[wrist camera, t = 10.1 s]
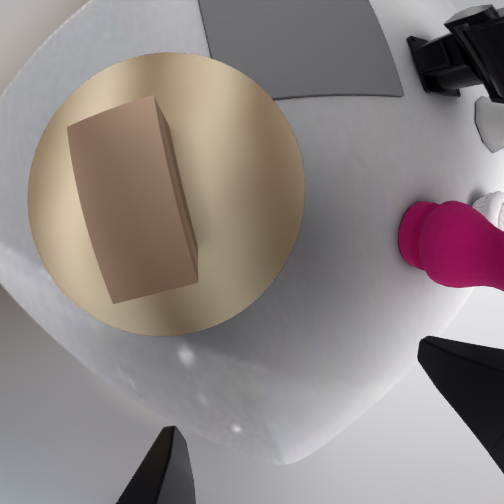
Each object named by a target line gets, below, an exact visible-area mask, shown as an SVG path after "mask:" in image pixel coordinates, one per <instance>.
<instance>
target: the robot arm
mask: <svg viewBox="0 0 504 504" xmlns="http://www.w3.org/2000/svg"><path fill="white" fill-rule="evenodd" d="M444 25H445V27H446V28H447V29H449V31H450V32H451V33H449V34H446V35H444V36H441V37H439V38H436V39H434V40H432V41H426V40H423V39H420V38H417V37H413V36H410V37H408V38H407V40H408V42H409V45H410V48H411V50H412V53H413V56H414V58H415V61H416V64H417V67H418V70H419V73H420V76H421V80H422V83H423V86H424V89H425V91H426V92H428V93H434V94H440V95H446V96H451V97H456V98H457V97H460V91H459V88H464V87H469V86H474V85H479V84H484V86H485V88H486V90H487V92H488V94H489V98H490V100H491V102H495V103H501V104H504V8H501V9H497V10H496V9H495V8H494V7H493V5H492V4H491V5H483V6H477V7H470V8H467V9H465V10H463V11H461V12H459V13H456V14H455V15H454V16H452V17H451V18H450V19H449V20H448V21H447V22H445V23H444ZM417 358H418V361H419V363H420V364H421V365H422V367H423V369H424V370H425V372H426V373H427V374H428V376H429V378H430V379H431V381H432V382H433V384H434V385H435V386H436V388H437V389H438V390H439V392H440V393H441V394H442V395H443V396H444V398H445V399H446V400H447V401H448V402H449V404H450V405H451V406H452V407H453V408H454V410H455V411H456V412H457V413H458V414H459V416H460V417H461V418H462V419H463V421H464V422H465V423H466V424H467V426H468V427H469V428H470V429H471V431H472V432H473V433H474V435H475V436H476V437H477V438H478V440H479V441H480V442H481V444H482V445H483V446H484V448H485V449H486V450H487V451H488V453H489V454H490V456H491V457H492V458H493V460H494V461H495V462H496V464H497V465H498V467H499V468H500V469H501V471H502V472H503V474H504V349H498V348H492V347H486V346H481V345H475V344H470V343H464V342H459V341H454V340H449V339H443V338H439V337H434V336H427V337H425V338H423V339H421V340H420V342H419V349H418V355H417ZM116 504H196V500H195V488H194V479H193V474H192V469H191V464H190V459H189V453H188V448H187V443H186V440H185V439H184V437H183V435H182V434H181V433H180V431H179V430H178V428H177V427H176V426H167V427H164V428H163V429H162V430H161V432H160V434H159V435H158V437H157V439H156V440H155V442H154V443H153V445H152V447H151V448H150V450H149V451H148V453H147V455H146V456H145V458H144V460H143V461H142V463H141V464H140V466H139V468H138V469H137V471H136V472H135V474H134V476H133V477H132V479H131V480H130V482H129V484H128V485H127V487H126V488H125V490H124V492H123V493H122V495H121V496H120V498H119V499H118V502H117V503H116Z"/></svg>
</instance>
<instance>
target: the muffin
mask: <svg viewBox="0 0 504 504" xmlns="http://www.w3.org/2000/svg"><path fill="white" fill-rule="evenodd" d="M472 207H473V208H474V209H476V210H477V211H479V212H480V213H481V214H482V215H483V216H484V217H485V218H486V219H487V220H488V221H489V222H491V223H492V224H493V225H494V226H495V227H497V228H499V229H500V230H502V231H504V194H503V193H502V192H494V193H489V194H487V195H485V196H484V197H482V198H480V199H478V200H476V201H475V202H474V203H473V205H472Z"/></svg>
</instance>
